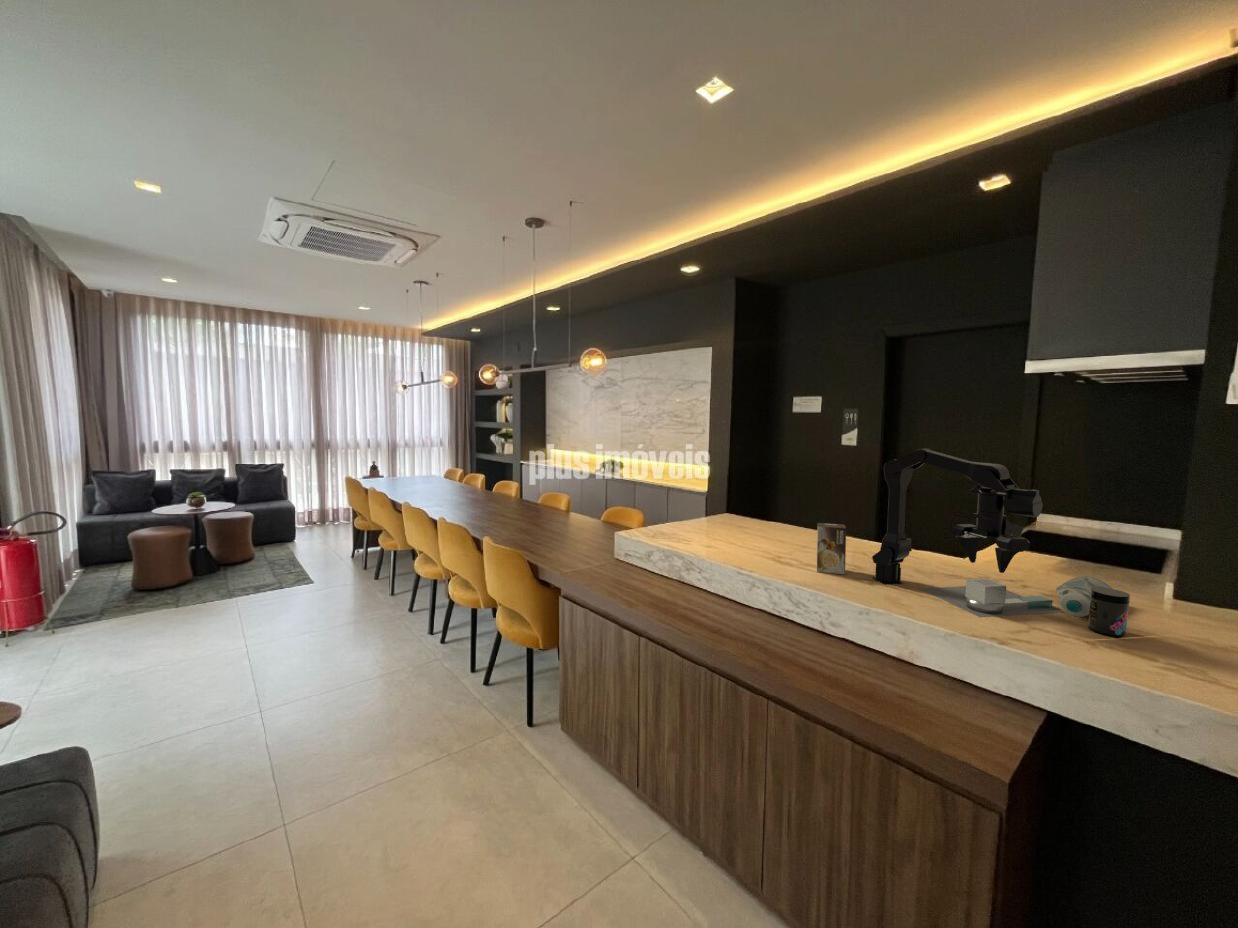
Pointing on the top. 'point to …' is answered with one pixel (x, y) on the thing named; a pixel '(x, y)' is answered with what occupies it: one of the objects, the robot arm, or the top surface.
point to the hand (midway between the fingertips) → (986, 567)
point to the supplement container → (1108, 612)
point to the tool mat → (958, 599)
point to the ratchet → (1010, 604)
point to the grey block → (985, 591)
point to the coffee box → (831, 548)
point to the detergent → (1078, 595)
